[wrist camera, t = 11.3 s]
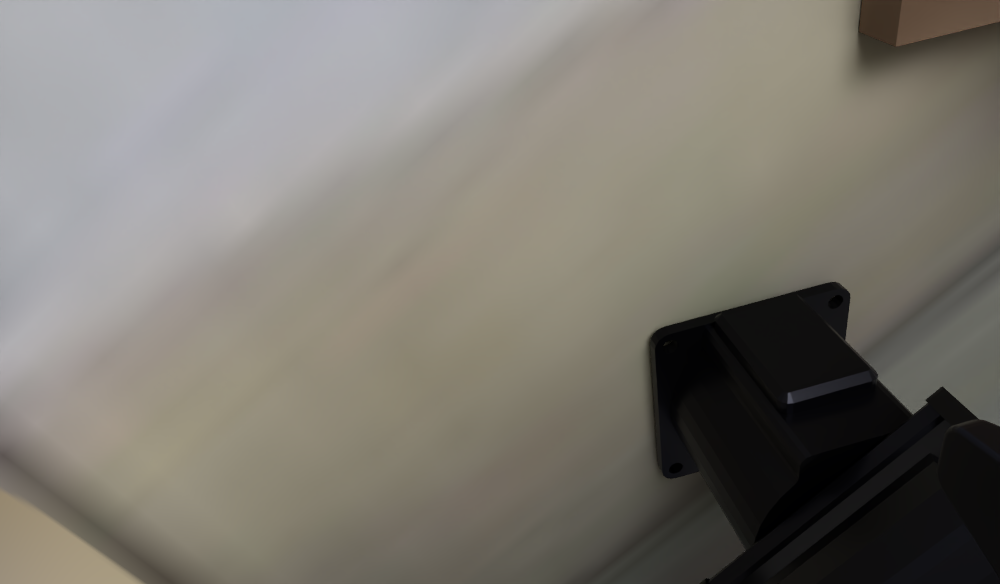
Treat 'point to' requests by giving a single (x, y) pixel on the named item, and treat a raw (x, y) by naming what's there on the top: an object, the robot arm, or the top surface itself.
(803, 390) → the robot arm
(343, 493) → the top surface
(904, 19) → the board
